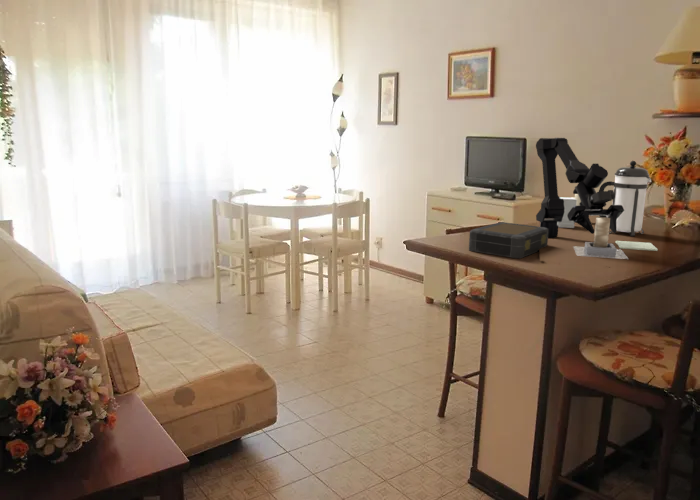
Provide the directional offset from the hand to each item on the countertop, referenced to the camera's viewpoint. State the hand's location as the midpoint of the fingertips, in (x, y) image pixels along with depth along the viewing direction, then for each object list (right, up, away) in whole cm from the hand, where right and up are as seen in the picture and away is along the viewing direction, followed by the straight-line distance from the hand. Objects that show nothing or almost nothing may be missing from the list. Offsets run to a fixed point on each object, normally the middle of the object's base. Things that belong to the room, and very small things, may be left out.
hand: (604, 232), depth 197 cm
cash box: (-30, -6, +11) cm, 32 cm away
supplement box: (+8, +4, +60) cm, 60 cm away
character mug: (+20, +7, +72) cm, 75 cm away
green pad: (+18, -5, +14) cm, 23 cm away
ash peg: (0, -7, +3) cm, 7 cm away
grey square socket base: (0, -8, +3) cm, 8 cm away
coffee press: (+27, +1, +45) cm, 53 cm away
